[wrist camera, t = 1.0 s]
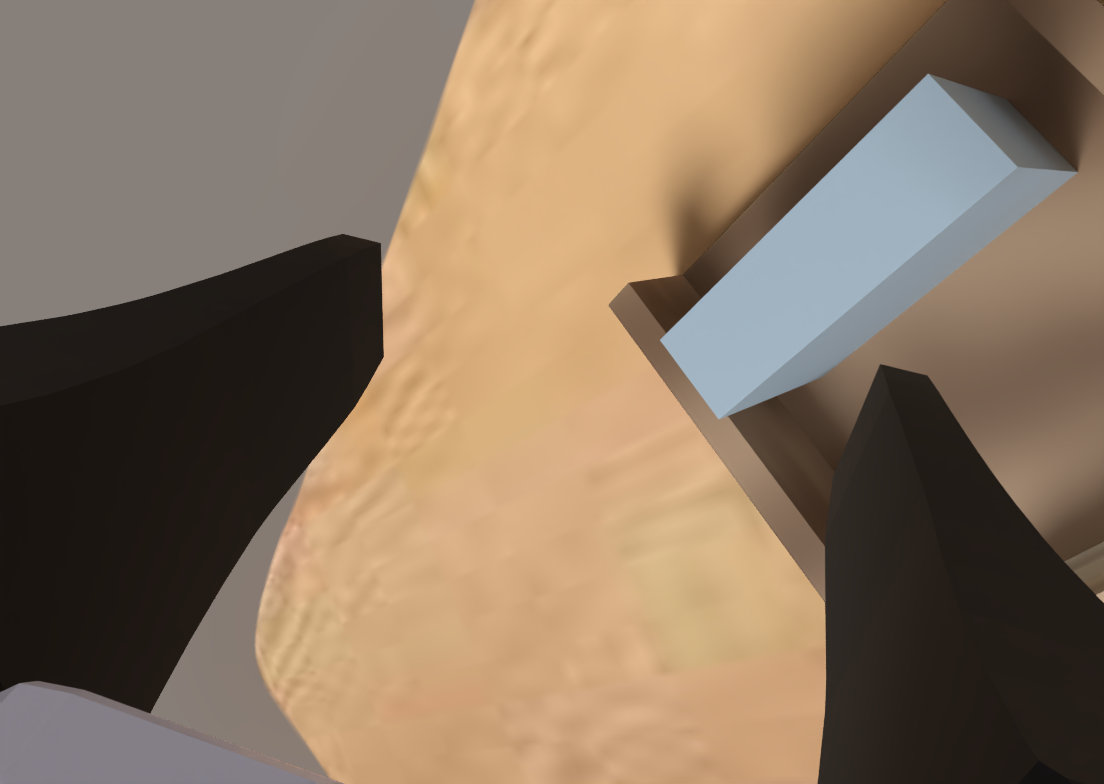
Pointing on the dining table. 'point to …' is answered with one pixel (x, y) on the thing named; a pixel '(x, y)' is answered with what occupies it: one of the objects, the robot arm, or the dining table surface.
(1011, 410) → the rack
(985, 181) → the block
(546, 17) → the dining table surface
